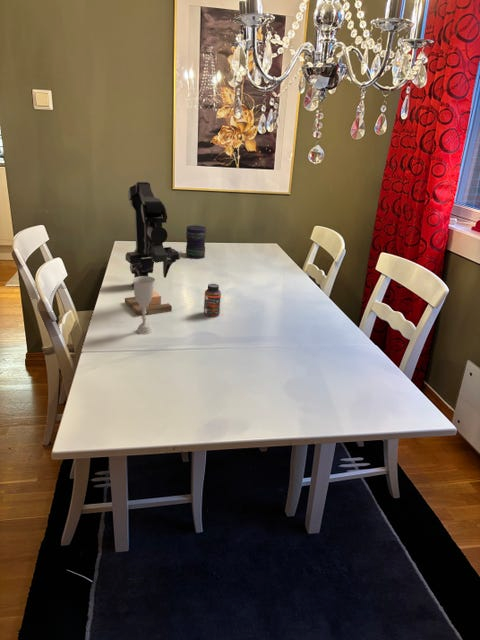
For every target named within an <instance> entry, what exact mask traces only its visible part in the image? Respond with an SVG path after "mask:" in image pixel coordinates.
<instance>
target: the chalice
mask: <svg viewBox="0 0 480 640" xmlns="http://www.w3.org/2000/svg"><path fill="white" fill-rule="evenodd" d="M155 280H156V279H155V277H153V276H149V275H148V276H139V277H135V278H134V277H133V278H132V283H134V286H133V295H134V297H135V298H136V300H137V302H138V304H139V305H140V307H142V308H143V310H142V314H143V315H142V316H140V317H141V319H142V322H141V323H140V324H138V327H137V329H136V333H137V334H140V335H149V334H151V333H152V332H153V330H152V327H151V326H150V324H149V323H147V315H146V313H147V312H146V309H145V308H146V307H147V306H148V305H149V303H150V301H151V299H152V296H153V291H154V283H155Z"/></svg>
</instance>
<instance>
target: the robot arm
mask: <svg viewBox="0 0 480 640" xmlns="http://www.w3.org/2000/svg"><path fill="white" fill-rule="evenodd" d="M127 198H128V201H129V204H130V207H131V208H132V210H133V211H134V227H135V229H134V232H135V249H134V251H127V252H126V254H125V261H127V262H128V263H129V270H130V273H131V274H132V275H134V276H133V278H135V277H139V276H149V274H153V272H154V267H155V266H154V265H155V264H158V263H162V265H163V266H162V269H163V271H162V273H163V278H165V279H166V278H167V276H168V273H169V271H170V268H171V265H172V264H173V263H176V262H177V261H178V260H180V259H181V258H180V256H181V255H180V252H179V251H178V250H177V249H175V248H173V247H172V246H165V247H164V245H163V244H164V243H165V242H166V240H167V239H168V231H167V230H166V228H164V227H163V224H166V223H167V220H168V214H167V209H166V207H165V204H164V203H163V202H162V200H161V199H160V198H157V197H155V194H154V193H153V191H152V187H151V184H150V182H148V181H137V182H135V184H134V185H132V186H130V187H129V189H128V192H127ZM131 286H133V287H134V282H132V283H131Z"/></svg>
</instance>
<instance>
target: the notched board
mask: <svg viewBox="0 0 480 640" xmlns="http://www.w3.org/2000/svg"><path fill="white" fill-rule="evenodd" d="M124 304H125V305H126V306H128V308H129V309H130V310H131V311H132V312H133V313H134V314H135V315H136V316H137V317H142V316H143V314H142V310H143V308H142V307H140V305H139V304H138V302H137V300H136V298H135V296H131V297H130V296H128V297H124ZM145 309H146V312H147V313H146V316H147V315H148V316H149V315H155V314H161V313H169V312H172V311H173V306H172V305H171V304H170V303H163V304H162V303H161V304H160V305H153V306H147V307H146V308H145Z"/></svg>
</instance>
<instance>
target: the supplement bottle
mask: <svg viewBox="0 0 480 640" xmlns="http://www.w3.org/2000/svg"><path fill="white" fill-rule="evenodd" d="M203 299H204V301H203V304H204V305H203V314H204V315H205V316H207V317H211V318H212V317H218V316H219V315H220V314H221V299H222V292H221V290H220V285H219V284H217V283H208V285H207V289H205V290H204V298H203Z"/></svg>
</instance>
